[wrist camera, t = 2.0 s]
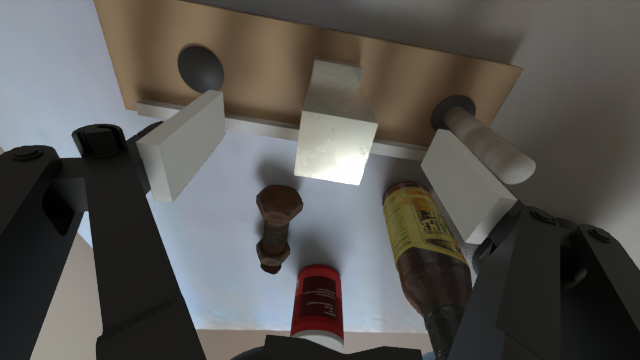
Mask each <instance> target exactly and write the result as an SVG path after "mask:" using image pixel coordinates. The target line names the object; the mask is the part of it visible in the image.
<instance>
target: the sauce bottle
mask: <svg viewBox="0 0 640 360" xmlns="http://www.w3.org/2000/svg"><path fill="white" fill-rule="evenodd" d="M382 205H383V212H384V217H385V221H386V225H387V230H388V234H389V238H390V243H391V247H392V251H393V256H394V260H395V264H396V268H397V271H398V273H399V277H400V281H401V285H402V289H403V292H404V295H405V297H406V298H407V300H408V301H409V303H410V304H411V305H412V306H413V307H414V308H415V309H416V310H417V312H418V313H419V314H420V315H421V316H422V317H423V318H424V322H425V327H426V330H427V331H428V334H429V337H430V341H431V344H432V348H433V351H434V355H435V360H447V359H448V356H449V353H450V350H451V348H452V345H453V342H454V339H455V337H456V334H457V331H458V328H459V326H460V323H461V320H462V317H463V315H464V312H465V309H466V306H467V303H468V301H469V298H470V295H471V292H472V281H471V272H470V268H469V266H468V264H467V262H466V260H465V258H464V256H463V254H462V253H461V251H460V249H459V247H458V245H457V243H456V241H455V239H454V237H453V235H452V233H451V231H450V229H449V228H448V225H447V223H446V222H445V220H444V218H443V216H442V214H441V212H440V211H439V209H438V207H437V205H436V203H435V201H434V199H433V197H432V196H431V194H430V193H429V192H428V191H427V189H426V188H425V187H424V186H422V185H420V184H417V183H412V182H403V183H401V184H398V185H395V186H393V187H392V188H390V189H389V190H388V191H387V192H386V194H385V196H384V198H383V202H382Z"/></svg>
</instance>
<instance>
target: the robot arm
mask: <svg viewBox="0 0 640 360" xmlns="http://www.w3.org/2000/svg"><path fill="white" fill-rule="evenodd" d="M225 135H226V131H225V116H224V101H223V92H221V91H215V90H208V91H207V92H205V93H204V94H203V95H201V96H200V97H198V98H197V99H196V100H194V101H193V102H191V103H190V104H189V105H187V106H186V107H184V108H183V109H182V110H180V111H179V112H177V113H176V114H175V115H173V116H172V117H170V118H169V119H168V120H166V121H165V122H164V121H160V122H157V123H154V124H151V125H149V126H148V127H146V128H145V129H143V131H140V132H139V133H137V135H134V136H133V137H131V138H130V139H128V140H127V141H126V140H125V137H124V134H123V131H122V129H121V128H120V127H119V126H116V125H112V124H94V125H88V126H84V127H81V128H78V129H77V130H75V131H73V133H72V137H73V140H74V142H75V144H76V146H77V148H78V150H79V152H80V154H81V157H82V158H59V156H58V154H57V152H56V150H55V149H54V148H52V147H50V146H45V145H33V146H21V147H17V148H14V149H12V150H10V151H7V152H4V153H3V154H1V155H0V360H30V357H31V354H32V351H33V349H34V346H35V344H36V341H37V338H38V336H39V333H40V330H41V327H42V325H43V322H44V319H45V317H46V314H47V311H48V308H49V306H50V303H51V300H52V298H53V295H54V292H55V290H56V287H57V284H58V282H59V279H60V276H61V274H62V271H63V268H64V265H65V263H66V260H67V257H68V255H69V252H70V249H71V246H72V244H73V241H74V238H75V236H76V233H77V230H78V228H79V225H80V222H81V220H82V217H83V214H84V212H85V211H88V212H89V220H90V228H91V236H92V244H93V251H94V260H95V268H96V276H97V284H98V292H99V300H100V308H101V316H102V323H103V333H102V335H101V336H99V337H98V338H97V342H96V360H206V357H205V354H204V351H203V349H202V346H201V343H200V341H199V338H198V335H197V333H196V330H195V327H194V324H193V322H192V319H191V316H190V313H189V311H188V308H187V305H186V303H185V300H184V298H183V296H182V294H181V291H180V288H179V286H178V283H177V280H176V277H175V275H174V272H173V269H172V266H171V264H170V261H169V258H168V256H167V253H166V250H165V247H164V245H163V242H162V239H161V236H160V234H159V231H158V228H157V225H156V223H155V220H154V217H153V215H152V212H151V209H150V206H149V204H148V201H147V198H146V194H147V193H148V192H149V191H150V190H151V193H152V196H153V199H154V201H161V202H169V203H173V202H174V201H175V199H176V198H177V197H178V196H179V194H180V193H181V192H182V190H183V189H184V188H185V187H186V185H187V184H188V183H189V182H190V180H191V179H192V178H193V176H194V175H195V174H196V173H197V171H198V170H199V169H200V167H201V166H202V165H203V164H204V162H205V161H206V160H207V158H208V157H209V156H210V155H211V153H212V152H213V151H214V150H215V148H216V147H217V146H218V144H219V143H220V142H221V141H222V139H223V138H224V137H225ZM421 168H422V169H423V171H424V173H425V175H426V176H427V178H428V180H429V181H430V183H431V185H432V187H433V188H434V190H435V192H436V193H437V195H438V197H439V199H440V200H441V202H442V204H443V206H444V207H445V209H446V211H447V212H448V214H449V216H450V218H451V219H452V221H453V223H454V224H455V226H456V228H457V230H458V231H459V233H460V235H461V236H462V238H463V240H464V242H465V243H473V244H480V245H481V243H482V242H483V241H484V240H485V239H486V237H487V236H489V237H490V238H489V239H487V240H486V241H485V242H484V243H483V244H482V245H481V246H480V247H479V248H478V249H477V251H476V252H475V254H474V257H473V261H472V265H473V269H474V271H475V273H476V274H477V279H476V281H475V284H474V287H473V290H472V292H471V295H470V298H469V301H468V303H467V306H466V309H465V312H464V315H463V317H462V320H461V323H460V326H459V328H458V331H457V334H456V337H455V339H454V342H453V345H452V348H451V350H450V353H449V356H448V359H447V360H640V270H639V269H638V267H637V266H636V265H635V263H634V262H633V260H632V259H631V258H630V256H629V255H628V254H627V252H626V251H625V249H624V248H623V247H622V245H621V244H620V243H619V242H618V241H617V240H616V239H615V238H614V237H612V236H611V234H610V233H608V232H606V231H605V230H603V229H601V228H597V227H594V226H592V225H588V224H580V225H579V226H578V225H576V224H575V223H573V222H570V221H567V220H563V219H556V218H554V217H552V216H551V215H550V214H548V213H546V212H545V211H543V210H541V209H538V208H536V207H532V206H524V205H523V204H522V203H521V202H520V201H519V200H518V199H517V198H516V197H515V196H514V194H513V193H512V192H510V191H509V189H508V188H507V187H506V186H504V184H503V183H502V182H501V181H500V180H499V179H498V178H496V177H495V176H494V175H493V174H492V173H491V172H490V171H489V170H488V169H487V168H486V167H485V166H484V165H483V164H482V163H481V162H480V161H479V160H478V159H477V158H476V157H475V156H474V155H473V154H472V153H471V152H470V151H469V150H468V149H467V148H466V147H465V146H464V145H463V144H462V143H461V141H460V140H459V139H458V138H457V137H456V136H455V135H454V134H453V133H452V132H451V131H448V130H443V129H438V130H437V132H436V135H435V137H434V139H433V141H432V143H431V145H430V147H429V149H428V151H427V153H426V155H425V157H424V159H423V162H422V164H421ZM231 360H435V355H434V351H432V352H428V353H426V354H425V355H423V356H422V354H421V350H418V349H407V348H398V347H388V346H383V347H378V348H374V349H370V350H366V351H361V352H356V353H352V354H342V353H340V352H338V351H335V350H333V349H330V348H328V347H325V346H323V345H320V344H318V343H315V342H313V341H311V340H308V339H306V338H296V337H285V336H275V335H266V339H265V345H264V346H261V347H257V348H253V349H251V350H248V351H245V352H243V353H241V354H239V355H237V356H235V357H234V358H232V359H231Z"/></svg>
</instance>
